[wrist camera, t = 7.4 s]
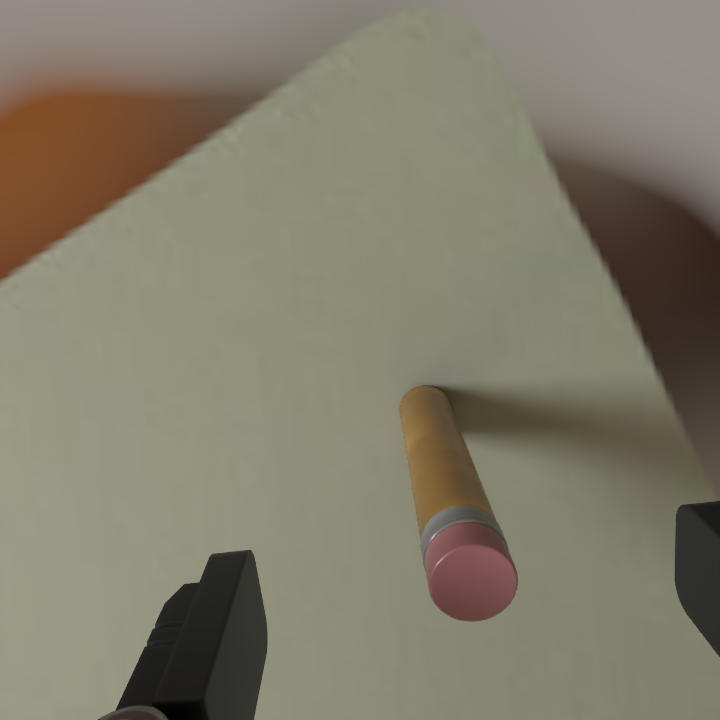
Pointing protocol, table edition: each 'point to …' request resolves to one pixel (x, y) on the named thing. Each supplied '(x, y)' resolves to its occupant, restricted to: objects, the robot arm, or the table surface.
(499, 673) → the table surface
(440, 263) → the table surface
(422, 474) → the pencil
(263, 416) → the table surface
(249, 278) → the table surface
